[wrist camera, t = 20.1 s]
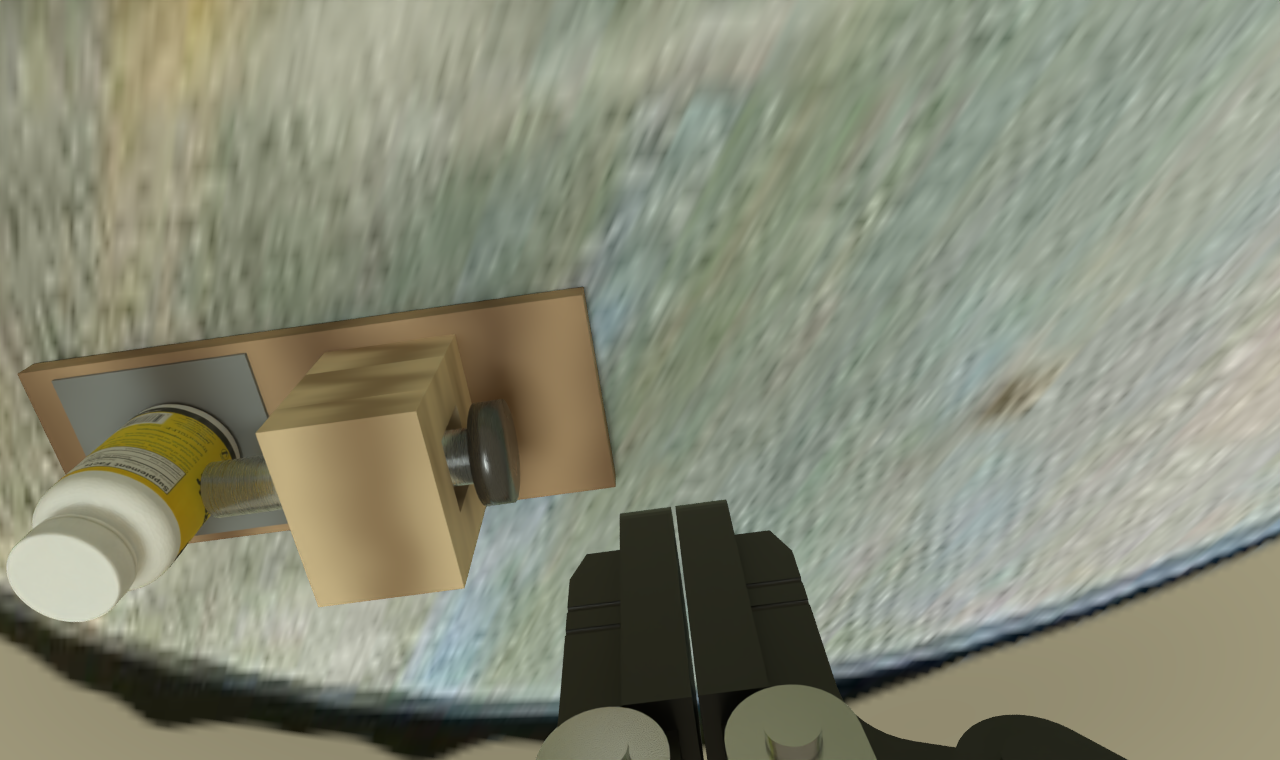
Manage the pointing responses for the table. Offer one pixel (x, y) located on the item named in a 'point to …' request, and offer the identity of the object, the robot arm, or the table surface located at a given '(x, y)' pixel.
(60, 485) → the supplement bottle
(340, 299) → the table surface
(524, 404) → the shaft bench
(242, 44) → the table surface
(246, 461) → the shaft
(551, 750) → the robot arm
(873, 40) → the table surface
